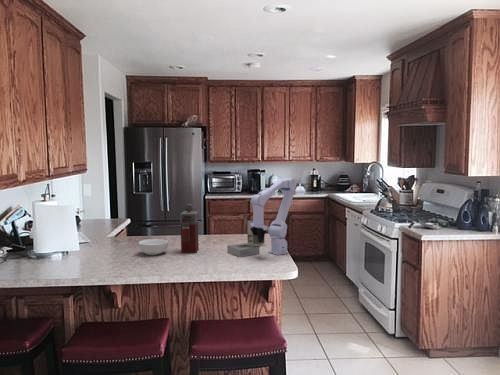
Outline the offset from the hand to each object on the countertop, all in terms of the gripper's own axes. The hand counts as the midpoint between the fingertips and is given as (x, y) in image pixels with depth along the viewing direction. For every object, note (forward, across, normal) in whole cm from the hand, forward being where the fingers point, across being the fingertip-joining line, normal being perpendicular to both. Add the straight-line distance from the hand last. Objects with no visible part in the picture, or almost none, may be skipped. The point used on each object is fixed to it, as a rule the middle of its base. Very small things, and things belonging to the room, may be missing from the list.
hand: (258, 241), depth 234 cm
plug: (+2, 0, 0) cm, 2 cm away
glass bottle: (+9, -34, -26) cm, 44 cm away
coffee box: (+9, -26, +15) cm, 32 cm away
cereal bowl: (+9, -43, -45) cm, 62 cm away
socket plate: (+9, -13, -2) cm, 16 cm away
